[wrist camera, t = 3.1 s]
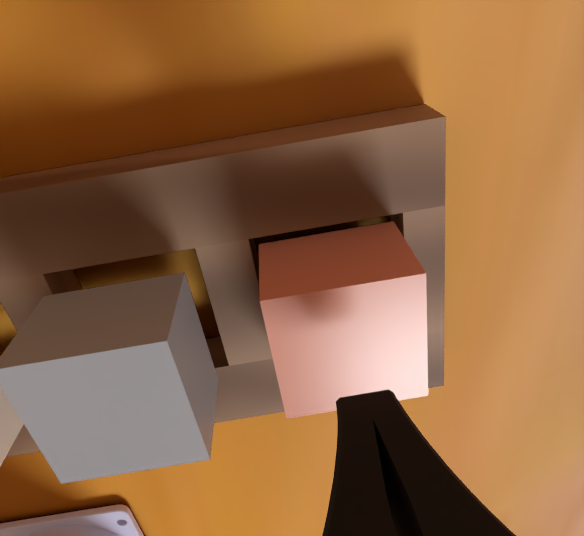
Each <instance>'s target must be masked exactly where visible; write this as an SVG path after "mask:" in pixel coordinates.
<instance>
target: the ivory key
mask: <svg viewBox="0 0 584 536" xmlns="http://www.w3.org/2000/svg"><path fill="white" fill-rule="evenodd" d="M23 424H24V423H23V422H22V420H21V419H20V417H19V415H18V414H17V412H16V411H15V409H14V407H13V406H12V404H11V403H10V401H9V399H8V398H7V396H6V395H5V393H4V391H3V390H2V388H1V387H0V467H1V465H2V463H3V461H4V459H5V457H6V456H7V454H8V452H9V450H10V448H11V446H12V445H13V443H14V441H15V439H16V437H17V435H18V434H19V432H20V430H21V428H22V426H23Z"/></svg>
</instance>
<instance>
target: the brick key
mask: <svg viewBox="0 0 584 536" xmlns="http://www.w3.org/2000/svg"><path fill="white" fill-rule="evenodd" d="M259 293H260V305H261V309H262V314H263V318H264V323H265V327H266V331H267V336H268V340H269V345H270V349H271V353H272V358H273V362H274V367H275V371H276V375H277V380H278V384H279V389H280V393H281V397H282V402H283V406H284V410H285V415H286V419H288V418H294V417H300V416H306V415H312V414H318V413H324V412H331V411H337V408H336V401H337V400H338V399H339V398H340V397H346V396H352V395H358V394H364V393H370V392H376V391H382V390H388V389H389V390H391V391H392V392H394V394H395V396H396V398H397V399H398V400H404V399H410V398H416V397H422V396H428V351H427V288H426V272H425V270H424V269H423V267H422V266H421V264H420V262H419V261H418V259H417V258H416V256H415V254H414V253H413V251H412V250H411V248H410V246H409V245H408V243H407V242H406V240H405V238H404V237H403V235H402V234H401V232H400V231H399V229H398V227H397V226H396V224H395V223H394V221H392V222H386V223H380V224H374V225H368V226H362V227H356V228H350V229H345V230H339V231H333V232H327V233H321V234H315V235H309V236H303V237H297V238H292V239H286V240H280V241H274V242H268V243H262V244H259Z"/></svg>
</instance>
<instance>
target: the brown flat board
mask: <svg viewBox="0 0 584 536" xmlns="http://www.w3.org/2000/svg"><path fill="white" fill-rule="evenodd" d="M445 133H446V117H445V116H444V115H442V114H441V113H439V112H437V111H436V110H434V109H432V108H431V107H429V106H427V105H426V104H422V105H416V106H410V107H404V108H399V109H393V110H387V111H382V112H376V113H370V114H364V115H359V116H353V117H347V118H341V119H336V120H330V121H324V122H318V123H313V124H307V125H301V126H295V127H290V128H284V129H278V130H272V131H267V132H261V133H255V134H249V135H244V136H238V137H232V138H226V139H221V140H215V141H209V142H203V143H198V144H192V145H186V146H181V147H175V148H169V149H163V150H158V151H152V152H146V153H140V154H135V155H129V156H123V157H117V158H112V159H106V160H100V161H94V162H89V163H83V164H77V165H71V166H66V167H60V168H54V169H48V170H43V171H37V172H31V173H25V174H20V175H14V176H8V177H3V178H0V301H1V303H2V305H3V307H4V309H5V310H6V312H7V314H8V316H9V318H10V319H11V321H12V323H13V325H14V327H15V328H16V330H17V332H18V331H19V330H20V328H21V327H22V326H23V324H24V323H25V321H26V320H27V319H28V317H29V316H30V314H31V313H32V312H33V310H34V309H35V307H36V306H37V305H38V303H39V302H40V300H41V299H42V298H43V296H48V295H54V294H60V293H65V292H71V291H77V290H82V287H81V285H80V283H79V281H78V278H77V276H76V274H75V272H74V269H76V268H82V267H87V266H93V265H99V264H105V263H111V262H117V261H123V260H129V259H134V258H140V257H146V256H152V255H158V254H164V253H170V252H176V251H181V250H187V249H193V248H195V250H196V253H197V257H198V260H199V264H200V267H201V270H202V274H203V277H204V281H205V284H206V288H207V291H208V295H209V298H210V301H211V305H212V308H213V312H214V315H215V319H216V322H217V326H218V329H219V332H220V336H218V337H212V338H206V342H207V345H208V349H209V352H210V355H211V358H212V362H213V365H214V368H215V371H216V374H217V378H218V385H217V395H216V405H215V415H214V423H218V422H224V421H230V420H236V419H242V418H248V417H254V416H261V415H267V414H273V413H279V412H285V410H284V406H283V402H282V397H281V393H280V389H279V384H278V380H277V375H276V371H275V367H274V362H273V358H272V353H271V349H270V345H269V340H268V336H267V331H266V327H265V323H264V318H263V314H262V309H261V305H260V293H259V260H258V255H257V250H256V246H255V241H254V238H258V237H264V236H270V235H275V234H281V233H287V232H293V231H299V230H305V229H311V228H317V227H322V226H328V225H334V224H340V223H346V222H352V221H358V220H364V219H369V218H375V217H381V216H387V215H390V222H392V221H394V223H395V224H396V226H397V227H398V229H399V231H400V232H401V234H402V235H403V237H404V238H405V240H406V242H407V243H408V245H409V246H410V248H411V250H412V251H413V253H414V254H415V256H416V258H417V259H418V261H419V262H420V264H421V266H422V267H423V269H424V270H425V272H426V288H427V351H428V388H432V387H438V386H444V282H445ZM34 452H40V449H39V447H38V446H37V444H36V443H35V441H34V439H33V438H32V436H31V435H30V433H29V431H28V430H27V428H26V427H25V425H24V424H23V426H22V428H21V430H20V432H19V434H18V435H17V437H16V439H15V441H14V443H13V445H12V446H11V448H10V450H9V452H8V454H7V456H6V457H10V456H16V455H22V454H28V453H34Z"/></svg>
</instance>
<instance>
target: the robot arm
mask: <svg viewBox="0 0 584 536" xmlns="http://www.w3.org/2000/svg"><path fill="white" fill-rule="evenodd" d="M336 408H337V417H338V437H337V452H336V461H335V470H334V478H333V484H332V490H331V496H330V502H329V507H328V513H327V518H326V522H325V527H324V531H323V536H516V535H514V534H513V533H512V532H511V531H510V530H509V529H508V528H507V527H506V526H505V525H504V524H503V523H502V522H501V521H500V520H499V519H498V518H497V517H495V516H494V515H493V514H492V513H491V512H490V511H489V510H488V509H487V508H486V507H485V506H484V505H483V504H482V503H481V502H480V501H479V500H478V498H477V497H476V496H475V495H474V494H473V493H472V492H471V491H470V490H469V489H468V488H467V487H466V486H465V485H464V484H463V482H462V481H461V480H460V479H459V478H458V477H457V476H456V475H455V474H454V473H453V471H452V470H451V469H450V468H449V467H448V466H447V465H446V463H445V462H444V461H443V460H442V459H441V457H440V456H439V455H438V454H437V452H436V451H435V450H434V449H433V448H432V446H431V445H430V444H429V443H428V441H427V440H426V439H425V438H424V436H423V435H422V434H421V432H420V431H419V430H418V428H417V427H416V426H415V424H414V423H413V422H412V420H411V419H410V417H409V416H408V415H407V413H406V412H405V410H404V409H403V407H402V406H401V404H400V403H399V401H398V399H397V398H396V396H395V394H394V392H392V391H391V390H389V389H388V390H382V391H376V392H370V393H364V394H358V395H352V396H346V397H340V398H339V399H338V400H337V401H336ZM0 536H144V535H143V533H142V531H141V529H140V528H139V526H138V524H137V522H136V520H135V518H134V516H133V514H132V513H131V511H130V509H129V508H128V507H127V506H125V505H122V504H118V505H112V506H105V507H99V508H93V509H87V510H81V511H74V512H68V513H62V514H56V515H50V516H43V517H37V518H31V519H25V520H18V521H12V522H6V523H0Z"/></svg>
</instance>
